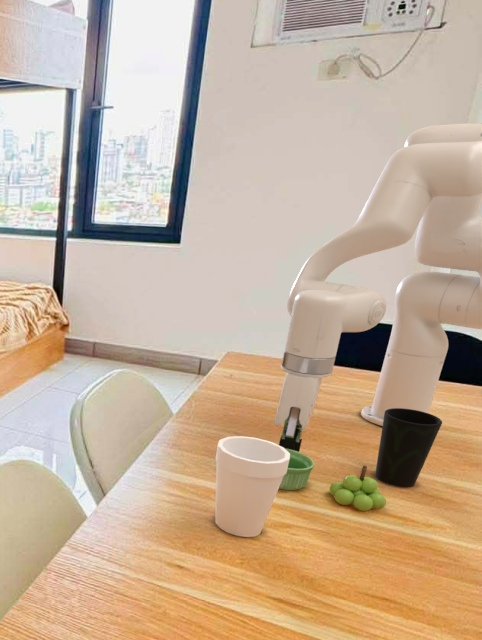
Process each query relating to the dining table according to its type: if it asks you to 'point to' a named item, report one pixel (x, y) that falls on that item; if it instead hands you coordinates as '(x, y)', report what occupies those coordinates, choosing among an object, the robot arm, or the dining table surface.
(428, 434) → the cup
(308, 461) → the ramekin
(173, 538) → the dining table surface
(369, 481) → the grapes
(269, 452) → the foam cup
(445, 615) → the dining table surface
